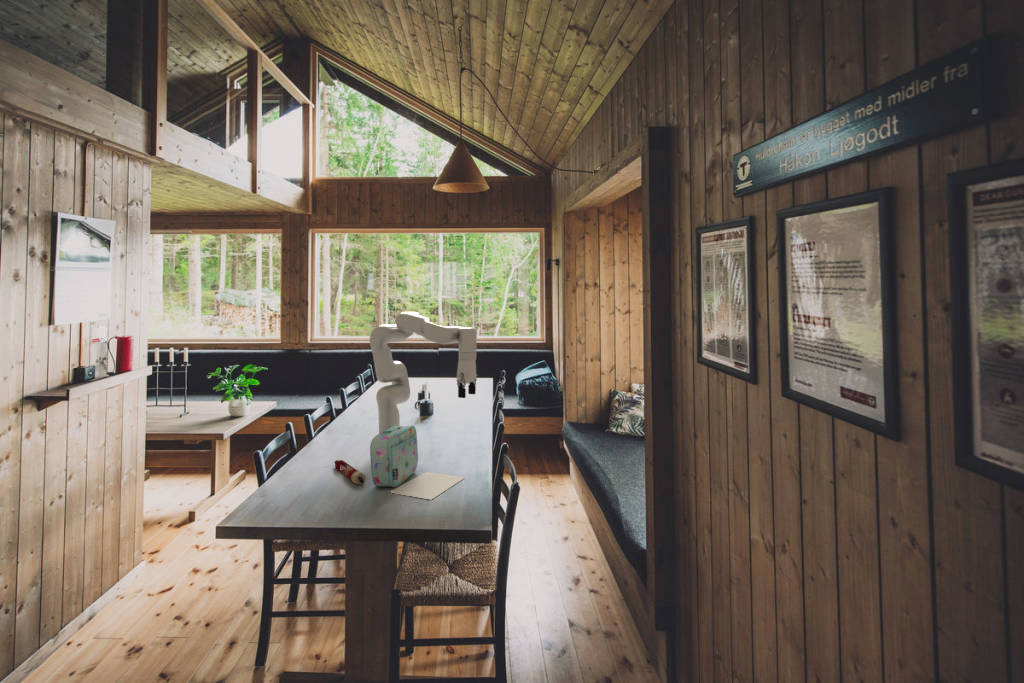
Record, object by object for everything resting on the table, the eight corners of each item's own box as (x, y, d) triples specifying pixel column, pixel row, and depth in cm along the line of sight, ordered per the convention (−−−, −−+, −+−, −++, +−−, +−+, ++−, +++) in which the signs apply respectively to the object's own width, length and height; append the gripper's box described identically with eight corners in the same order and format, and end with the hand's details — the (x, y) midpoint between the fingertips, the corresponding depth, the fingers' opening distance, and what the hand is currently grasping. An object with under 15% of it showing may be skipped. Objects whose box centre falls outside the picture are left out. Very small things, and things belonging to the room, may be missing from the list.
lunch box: (393, 493, 194) (393, 436, 193) (368, 490, 196) (367, 434, 195) (420, 470, 221) (420, 420, 219) (397, 469, 223) (397, 419, 221)
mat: (388, 493, 194) (388, 492, 194) (426, 472, 218) (426, 471, 218) (431, 500, 187) (431, 499, 187) (464, 478, 211) (464, 477, 211)
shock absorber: (328, 460, 222) (354, 479, 198) (339, 455, 225) (366, 472, 201) (333, 470, 224) (359, 489, 200) (343, 464, 226) (370, 482, 202)
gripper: (468, 354, 234) (467, 392, 235) (450, 357, 218) (449, 398, 219) (483, 354, 231) (483, 393, 233) (466, 358, 215) (465, 399, 217)
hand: (466, 395), depth 226 cm, fingers open, 9 cm apart
